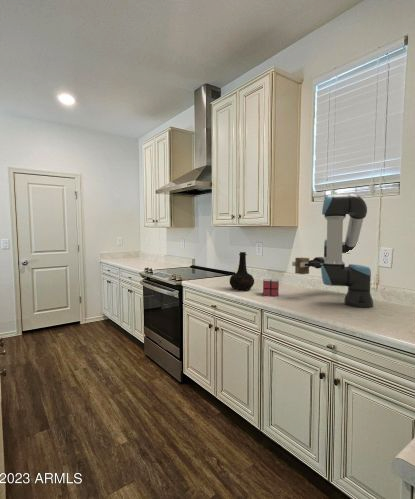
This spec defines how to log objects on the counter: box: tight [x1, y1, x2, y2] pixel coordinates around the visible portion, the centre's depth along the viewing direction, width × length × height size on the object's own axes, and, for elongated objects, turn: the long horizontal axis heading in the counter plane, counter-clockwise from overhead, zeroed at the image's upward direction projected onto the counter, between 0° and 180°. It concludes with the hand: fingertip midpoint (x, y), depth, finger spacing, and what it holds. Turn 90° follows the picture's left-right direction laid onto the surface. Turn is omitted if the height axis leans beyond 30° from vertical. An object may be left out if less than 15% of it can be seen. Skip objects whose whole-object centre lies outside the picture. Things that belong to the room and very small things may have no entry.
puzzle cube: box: [262, 278, 279, 297], centre depth 203 cm, size 10×10×10 cm
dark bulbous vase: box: [229, 251, 255, 292], centre depth 219 cm, size 18×18×28 cm
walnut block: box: [294, 257, 310, 275], centre depth 192 cm, size 6×6×10 cm
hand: (296, 264), depth 189 cm, fingers closed on walnut block, 6 cm apart
